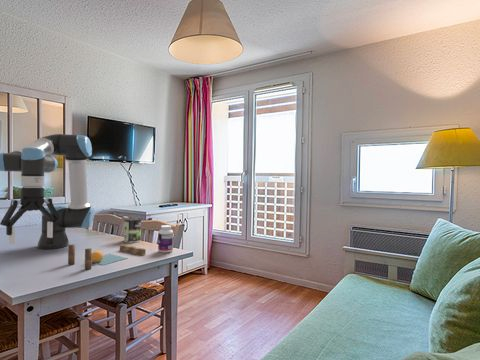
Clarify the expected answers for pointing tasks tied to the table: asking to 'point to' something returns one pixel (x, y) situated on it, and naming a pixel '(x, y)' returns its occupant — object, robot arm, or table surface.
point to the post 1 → (71, 254)
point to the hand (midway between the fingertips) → (31, 240)
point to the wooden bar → (132, 249)
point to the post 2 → (88, 258)
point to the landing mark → (109, 259)
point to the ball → (97, 256)
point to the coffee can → (132, 230)
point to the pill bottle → (165, 239)
